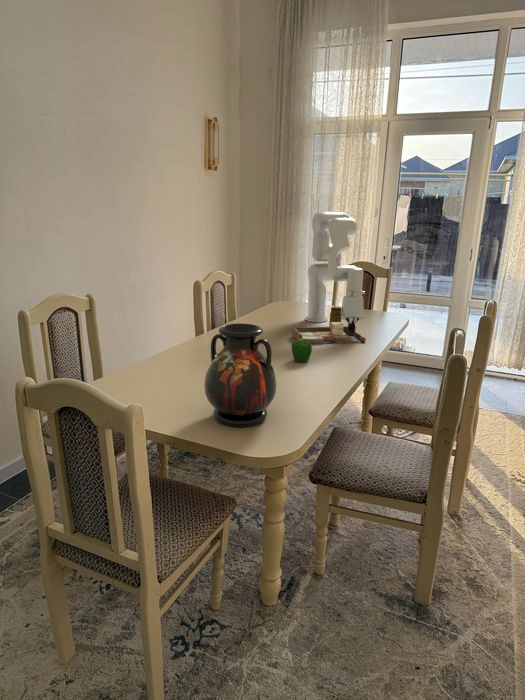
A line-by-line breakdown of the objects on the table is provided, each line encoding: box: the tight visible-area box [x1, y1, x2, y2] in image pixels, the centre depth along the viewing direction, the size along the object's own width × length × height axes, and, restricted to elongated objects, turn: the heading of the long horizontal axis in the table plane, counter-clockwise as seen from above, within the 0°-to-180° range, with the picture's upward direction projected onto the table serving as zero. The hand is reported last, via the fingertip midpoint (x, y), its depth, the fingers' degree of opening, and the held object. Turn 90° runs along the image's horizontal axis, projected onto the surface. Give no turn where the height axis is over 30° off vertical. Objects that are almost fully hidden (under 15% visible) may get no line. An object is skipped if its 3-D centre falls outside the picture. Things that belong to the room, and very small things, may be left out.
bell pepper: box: [291, 339, 313, 363], centre depth 204 cm, size 8×8×10 cm
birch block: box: [330, 321, 345, 335], centre depth 240 cm, size 5×5×5 cm
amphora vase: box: [203, 323, 277, 428], centre depth 146 cm, size 22×22×28 cm
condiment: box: [328, 306, 342, 327], centre depth 256 cm, size 7×8×12 cm
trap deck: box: [292, 325, 367, 345], centre depth 238 cm, size 15×32×4 cm, turn 100°
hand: (351, 330), depth 241 cm, fingers closed
